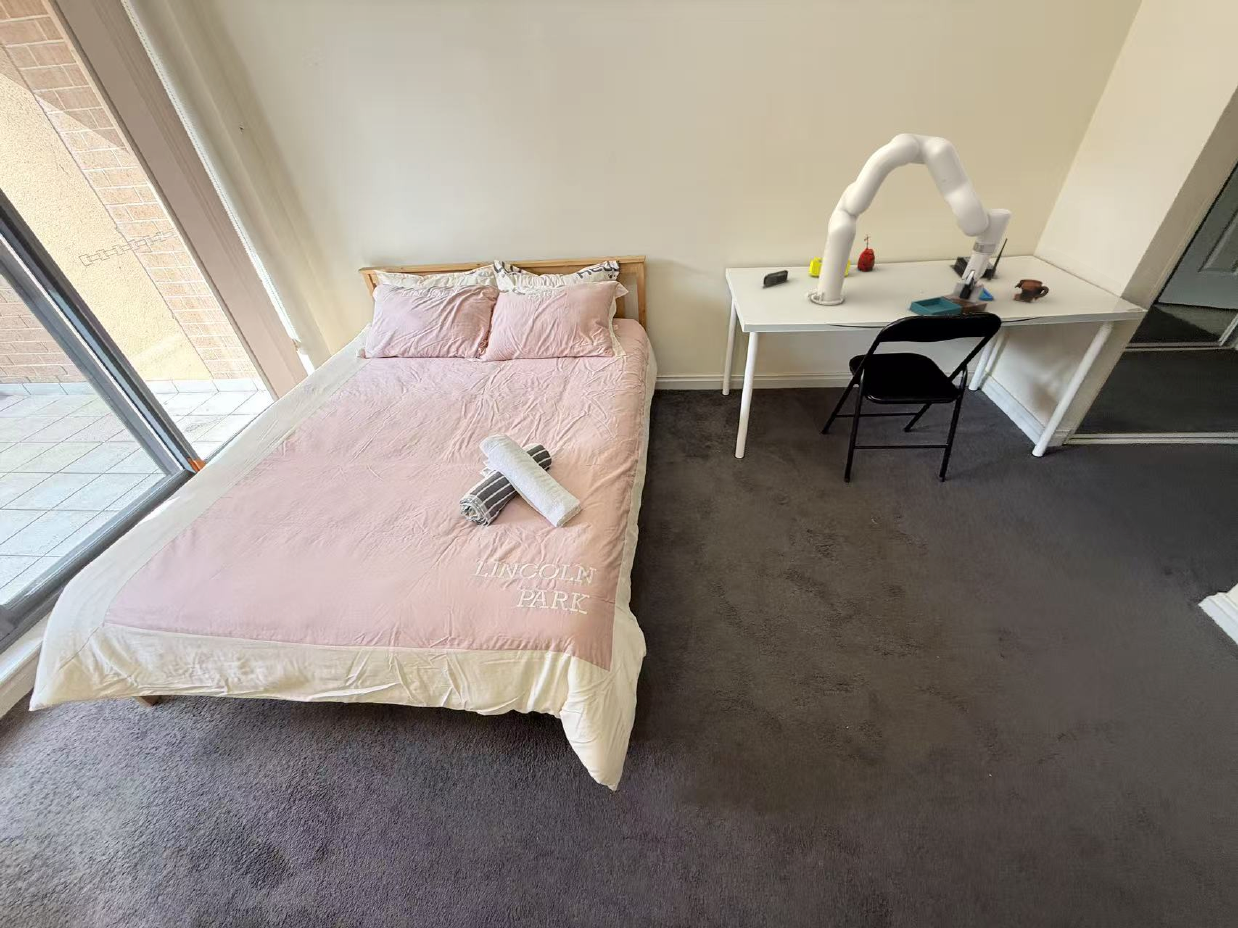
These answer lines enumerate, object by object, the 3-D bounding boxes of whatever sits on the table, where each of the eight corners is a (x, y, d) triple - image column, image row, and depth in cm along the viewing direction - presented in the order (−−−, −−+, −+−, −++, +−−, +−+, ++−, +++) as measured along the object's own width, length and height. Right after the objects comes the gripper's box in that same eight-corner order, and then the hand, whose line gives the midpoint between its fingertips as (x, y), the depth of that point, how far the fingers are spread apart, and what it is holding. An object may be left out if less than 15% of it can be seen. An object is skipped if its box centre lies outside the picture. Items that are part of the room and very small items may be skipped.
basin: (930, 320, 184) (932, 312, 182) (909, 309, 192) (911, 301, 190) (959, 314, 186) (962, 307, 184) (937, 304, 194) (940, 296, 192)
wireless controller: (950, 265, 225) (965, 225, 214) (984, 265, 223) (1000, 225, 212) (964, 281, 210) (980, 238, 199) (1000, 281, 208) (1019, 238, 197)
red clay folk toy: (867, 273, 223) (876, 238, 214) (852, 270, 227) (861, 235, 218) (875, 269, 227) (884, 234, 217) (860, 265, 231) (869, 231, 221)
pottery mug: (1004, 299, 195) (1013, 277, 193) (1015, 305, 200) (1024, 284, 198) (1039, 300, 185) (1049, 278, 183) (1049, 307, 190) (1059, 285, 188)
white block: (951, 297, 191) (957, 281, 187) (953, 295, 192) (959, 279, 188) (975, 303, 186) (982, 286, 182) (977, 300, 187) (984, 284, 183)
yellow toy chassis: (810, 277, 223) (814, 258, 218) (808, 273, 227) (811, 254, 222) (847, 277, 221) (851, 258, 215) (844, 273, 225) (848, 254, 220)
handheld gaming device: (980, 283, 204) (994, 297, 193) (979, 286, 205) (993, 300, 194) (958, 283, 206) (971, 297, 194) (957, 286, 206) (970, 299, 195)
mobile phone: (785, 268, 220) (761, 275, 214) (790, 270, 218) (766, 277, 212) (783, 279, 224) (759, 287, 217) (788, 281, 222) (764, 288, 215)
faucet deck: (960, 315, 185) (963, 307, 183) (935, 303, 195) (938, 295, 193) (988, 310, 187) (991, 302, 185) (962, 298, 197) (965, 290, 195)
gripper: (980, 240, 183) (961, 288, 195) (966, 251, 175) (947, 301, 186) (1004, 243, 179) (982, 293, 191) (990, 255, 170) (968, 306, 182)
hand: (965, 296), depth 188 cm, fingers closed on white block, 2 cm apart
